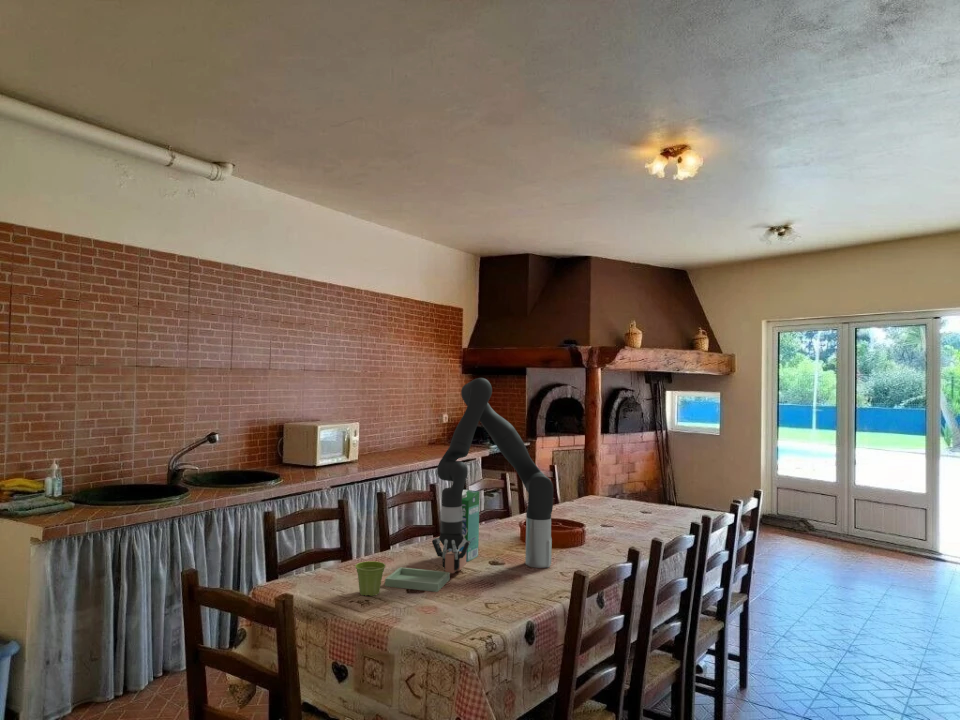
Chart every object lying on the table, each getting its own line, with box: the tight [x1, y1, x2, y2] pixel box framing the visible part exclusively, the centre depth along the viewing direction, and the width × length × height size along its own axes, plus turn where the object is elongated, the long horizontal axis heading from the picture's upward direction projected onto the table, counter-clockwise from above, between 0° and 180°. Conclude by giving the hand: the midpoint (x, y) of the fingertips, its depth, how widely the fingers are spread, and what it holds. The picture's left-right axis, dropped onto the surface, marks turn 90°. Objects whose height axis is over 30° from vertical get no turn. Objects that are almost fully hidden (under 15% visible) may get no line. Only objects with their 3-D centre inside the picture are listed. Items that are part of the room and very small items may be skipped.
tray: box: [384, 566, 451, 593], centre depth 205 cm, size 18×13×2 cm
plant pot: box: [354, 560, 387, 597], centre depth 194 cm, size 9×9×9 cm
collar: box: [443, 551, 467, 574], centre depth 216 cm, size 12×6×6 cm, turn 166°
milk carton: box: [448, 489, 481, 563], centre depth 236 cm, size 9×9×25 cm
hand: (450, 569), depth 212 cm, fingers closed on collar, 3 cm apart
